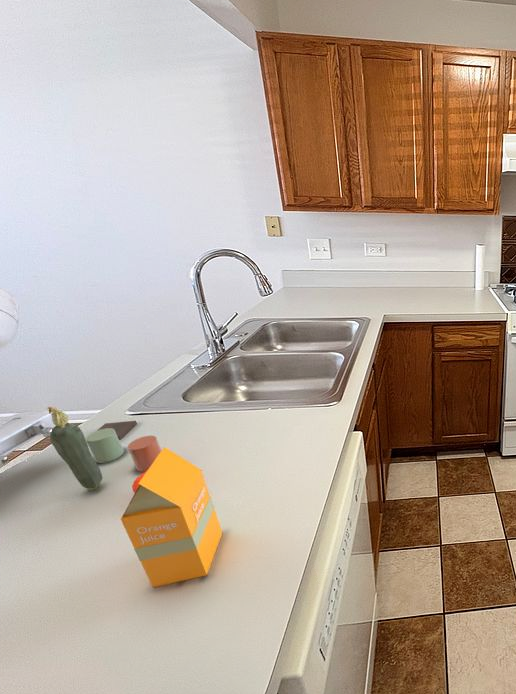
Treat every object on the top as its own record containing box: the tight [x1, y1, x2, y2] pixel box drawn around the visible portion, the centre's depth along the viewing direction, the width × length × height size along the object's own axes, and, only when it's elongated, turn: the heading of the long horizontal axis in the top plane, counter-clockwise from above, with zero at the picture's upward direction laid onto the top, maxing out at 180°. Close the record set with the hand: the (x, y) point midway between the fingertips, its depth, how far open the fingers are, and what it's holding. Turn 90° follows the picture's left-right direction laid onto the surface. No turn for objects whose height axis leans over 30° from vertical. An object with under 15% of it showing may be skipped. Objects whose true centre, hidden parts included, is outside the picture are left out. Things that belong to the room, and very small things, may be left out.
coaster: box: [96, 420, 138, 441], centre depth 100 cm, size 7×7×1 cm
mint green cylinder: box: [85, 428, 125, 464], centre depth 90 cm, size 5×5×6 cm
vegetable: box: [46, 406, 103, 490], centre depth 78 cm, size 4×4×20 cm
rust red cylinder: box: [127, 435, 162, 473], centre depth 88 cm, size 5×5×6 cm
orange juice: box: [120, 446, 223, 588], centre depth 63 cm, size 8×9×20 cm
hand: (30, 445), depth 77 cm, fingers open, 8 cm apart
